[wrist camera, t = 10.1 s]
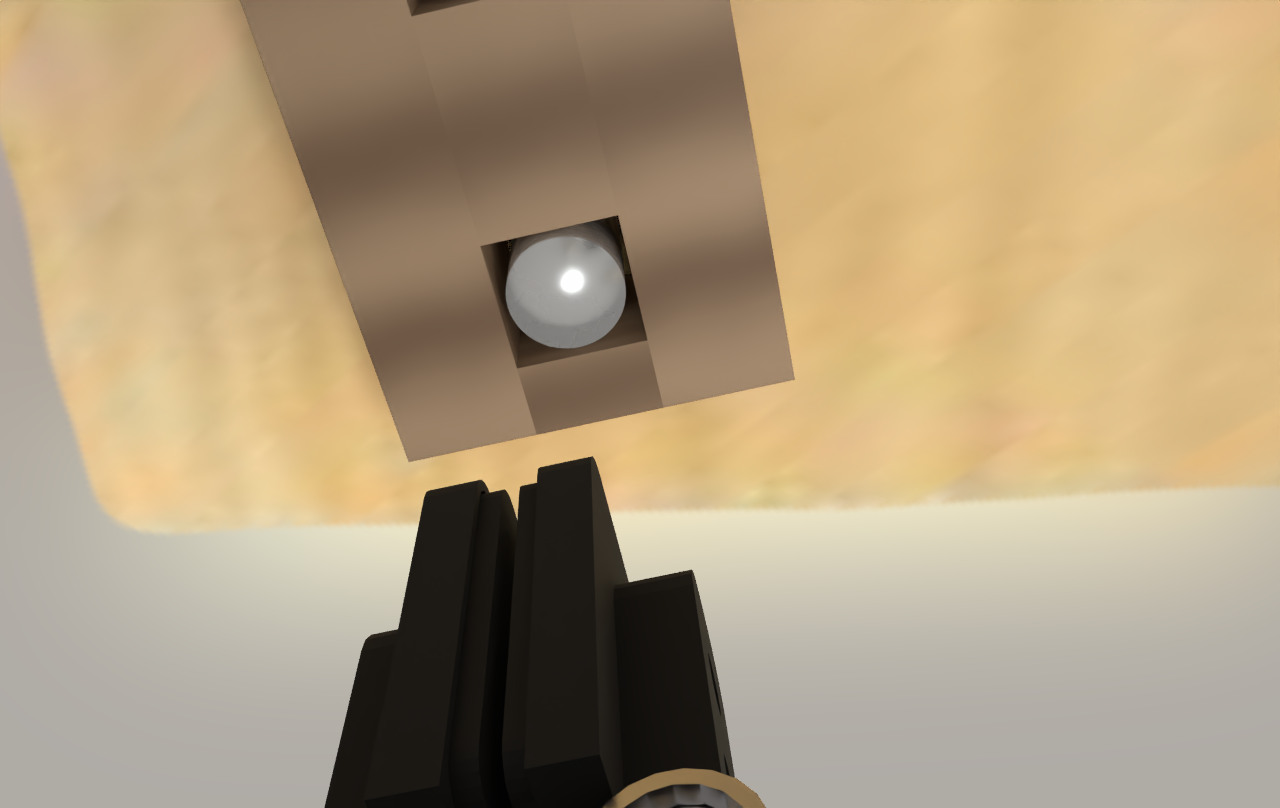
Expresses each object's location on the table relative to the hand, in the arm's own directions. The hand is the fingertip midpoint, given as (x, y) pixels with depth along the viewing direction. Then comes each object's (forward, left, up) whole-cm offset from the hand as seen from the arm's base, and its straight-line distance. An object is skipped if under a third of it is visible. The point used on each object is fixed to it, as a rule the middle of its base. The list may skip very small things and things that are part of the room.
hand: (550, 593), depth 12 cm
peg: (+8, -2, -33) cm, 34 cm away
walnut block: (+2, -2, -33) cm, 33 cm away
